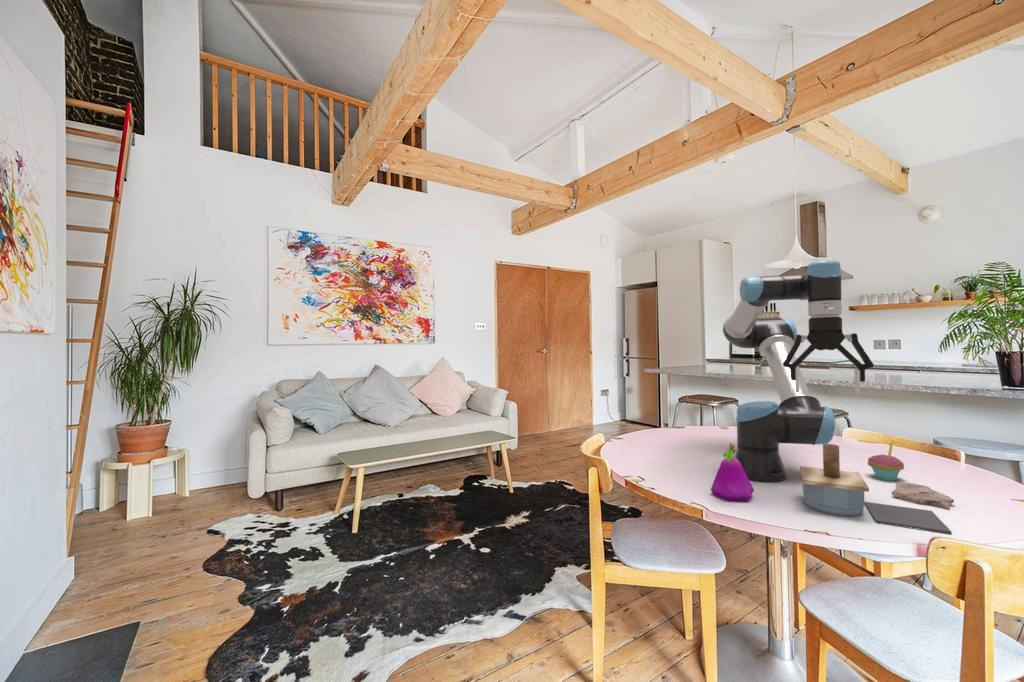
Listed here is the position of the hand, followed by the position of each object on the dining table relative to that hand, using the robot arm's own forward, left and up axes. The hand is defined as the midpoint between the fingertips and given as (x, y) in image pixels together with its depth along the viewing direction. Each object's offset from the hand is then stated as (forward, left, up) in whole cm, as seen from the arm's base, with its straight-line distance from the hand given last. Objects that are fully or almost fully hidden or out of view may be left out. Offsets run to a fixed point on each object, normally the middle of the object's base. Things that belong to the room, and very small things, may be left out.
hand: (826, 392), depth 118 cm
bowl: (0, -9, -29) cm, 30 cm away
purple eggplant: (-23, -12, -29) cm, 39 cm away
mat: (+14, -10, -29) cm, 33 cm away
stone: (+21, +8, -29) cm, 37 cm away
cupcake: (+17, +25, -29) cm, 42 cm away
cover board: (0, -9, -22) cm, 23 cm away
